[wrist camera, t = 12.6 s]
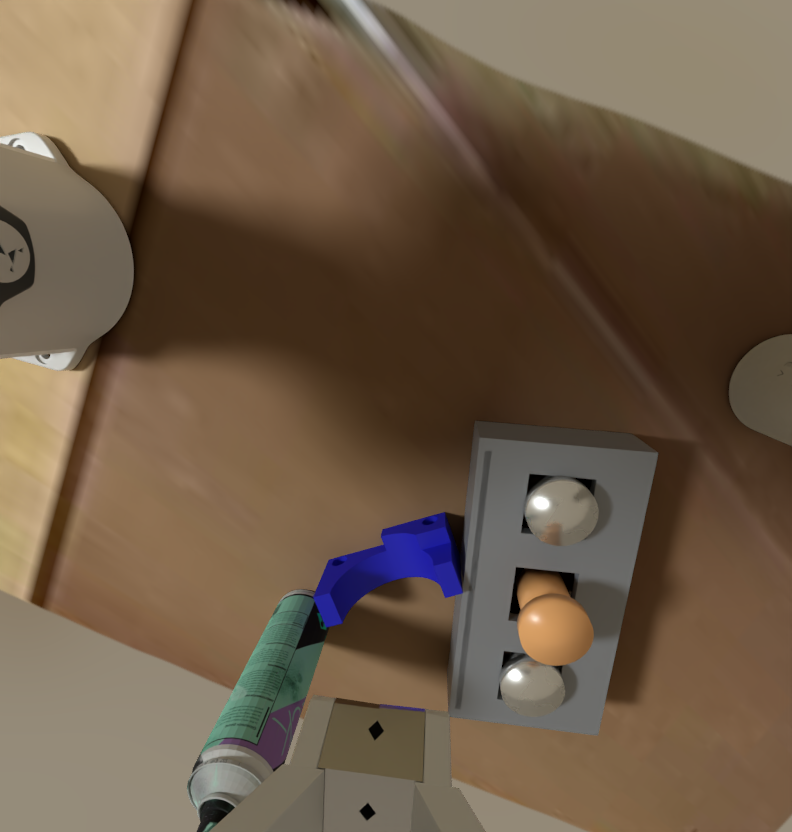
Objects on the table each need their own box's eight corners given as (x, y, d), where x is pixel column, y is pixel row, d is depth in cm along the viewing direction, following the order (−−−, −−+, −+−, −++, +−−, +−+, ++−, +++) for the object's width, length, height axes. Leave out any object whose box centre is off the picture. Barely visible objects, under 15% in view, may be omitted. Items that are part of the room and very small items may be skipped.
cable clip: (444, 511, 43) (445, 544, 37) (459, 554, 44) (462, 593, 38) (323, 545, 45) (306, 582, 39) (340, 585, 46) (326, 627, 40)
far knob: (489, 659, 46) (497, 712, 40) (496, 613, 44) (504, 661, 39) (544, 666, 45) (560, 720, 39) (552, 619, 44) (569, 668, 38)
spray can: (279, 635, 47) (170, 869, 28) (275, 587, 46) (157, 798, 27) (333, 638, 47) (259, 877, 28) (330, 590, 46) (251, 806, 26)
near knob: (510, 508, 42) (522, 542, 36) (518, 452, 40) (531, 478, 35) (570, 513, 41) (592, 549, 35) (580, 457, 40) (604, 485, 34)
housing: (447, 673, 47) (448, 716, 42) (474, 420, 40) (479, 437, 35) (581, 689, 46) (597, 735, 41) (631, 433, 39) (658, 452, 35)
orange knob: (504, 609, 41) (515, 661, 35) (511, 555, 39) (524, 600, 34) (565, 615, 40) (587, 669, 34) (575, 561, 39) (599, 608, 33)
